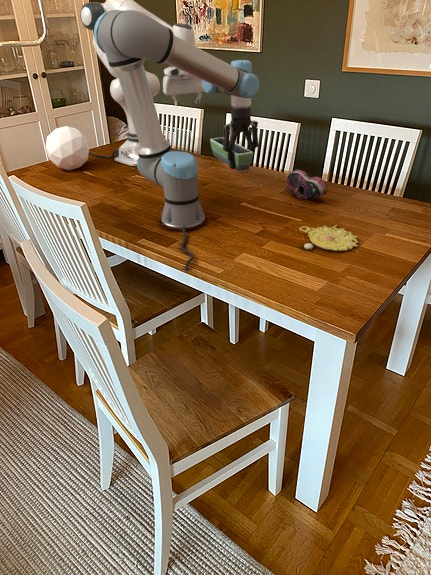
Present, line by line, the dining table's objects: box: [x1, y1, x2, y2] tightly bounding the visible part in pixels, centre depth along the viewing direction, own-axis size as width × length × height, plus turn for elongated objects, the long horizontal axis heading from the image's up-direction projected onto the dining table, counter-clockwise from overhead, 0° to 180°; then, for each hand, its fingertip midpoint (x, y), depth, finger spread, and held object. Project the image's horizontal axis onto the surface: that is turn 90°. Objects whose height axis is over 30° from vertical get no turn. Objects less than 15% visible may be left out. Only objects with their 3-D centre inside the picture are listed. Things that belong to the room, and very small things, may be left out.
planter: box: [209, 136, 253, 172], centre depth 184 cm, size 28×7×7 cm, turn 24°
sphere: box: [44, 125, 90, 171], centre depth 207 cm, size 19×20×20 cm
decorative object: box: [299, 224, 359, 252], centre depth 141 cm, size 21×2×20 cm
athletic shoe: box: [284, 169, 328, 201], centre depth 172 cm, size 11×22×12 cm
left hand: (187, 104), depth 190 cm, fingers open, 8 cm apart
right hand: (240, 166), depth 178 cm, fingers closed on planter, 7 cm apart
